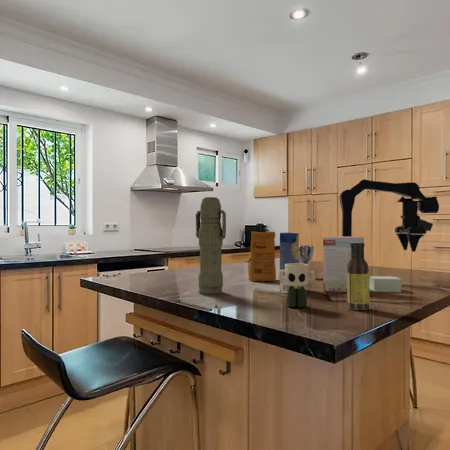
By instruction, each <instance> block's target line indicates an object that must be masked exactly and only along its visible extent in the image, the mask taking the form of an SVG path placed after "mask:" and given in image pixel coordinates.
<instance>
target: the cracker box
mask: <svg viewBox="0 0 450 450" xmlns="http://www.w3.org/2000/svg"><path fill="white" fill-rule="evenodd" d="M351 242H363V243H364V244H365V238H364V236H352V237H343V236H342V235H341V236H338V235H337V236H332V235H331V236H323V237H322V247H323V248H322V271H323V272H322V274H323V275H322V276H323V277H322V281H323V282H322V283H323V284H322V287H323V288H322V289H323V291H322V292H323V295H326V296H327V295H329V294H328V293H327V292H341V293H342V292H343V293H344V292H345V293H347V264H348V262H349V260H350V259H351V247H350V243H351Z"/></svg>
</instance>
